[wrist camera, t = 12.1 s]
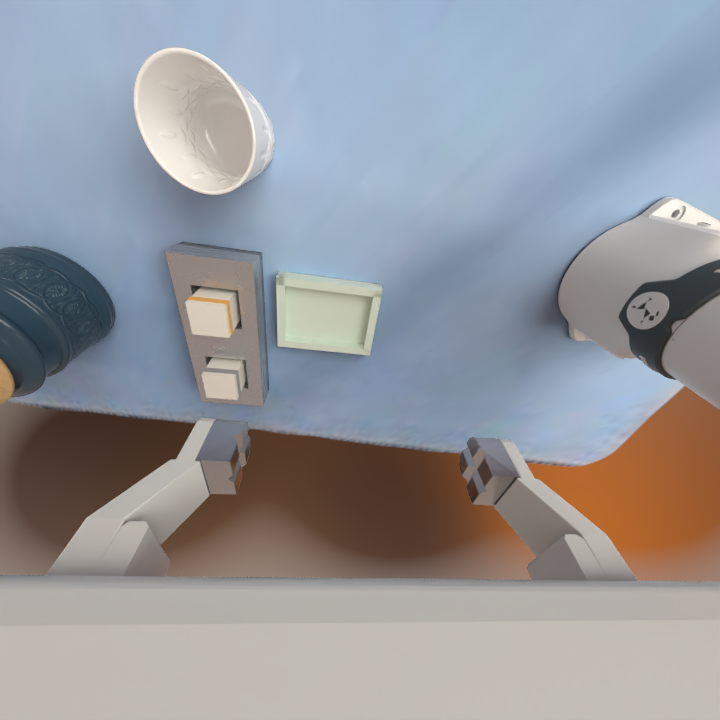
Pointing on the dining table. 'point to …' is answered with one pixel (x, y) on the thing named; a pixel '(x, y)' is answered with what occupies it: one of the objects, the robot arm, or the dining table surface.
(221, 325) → the plug
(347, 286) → the tray
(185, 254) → the strip
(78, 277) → the canister
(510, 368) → the dining table surface
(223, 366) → the twin plug
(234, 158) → the white cup
